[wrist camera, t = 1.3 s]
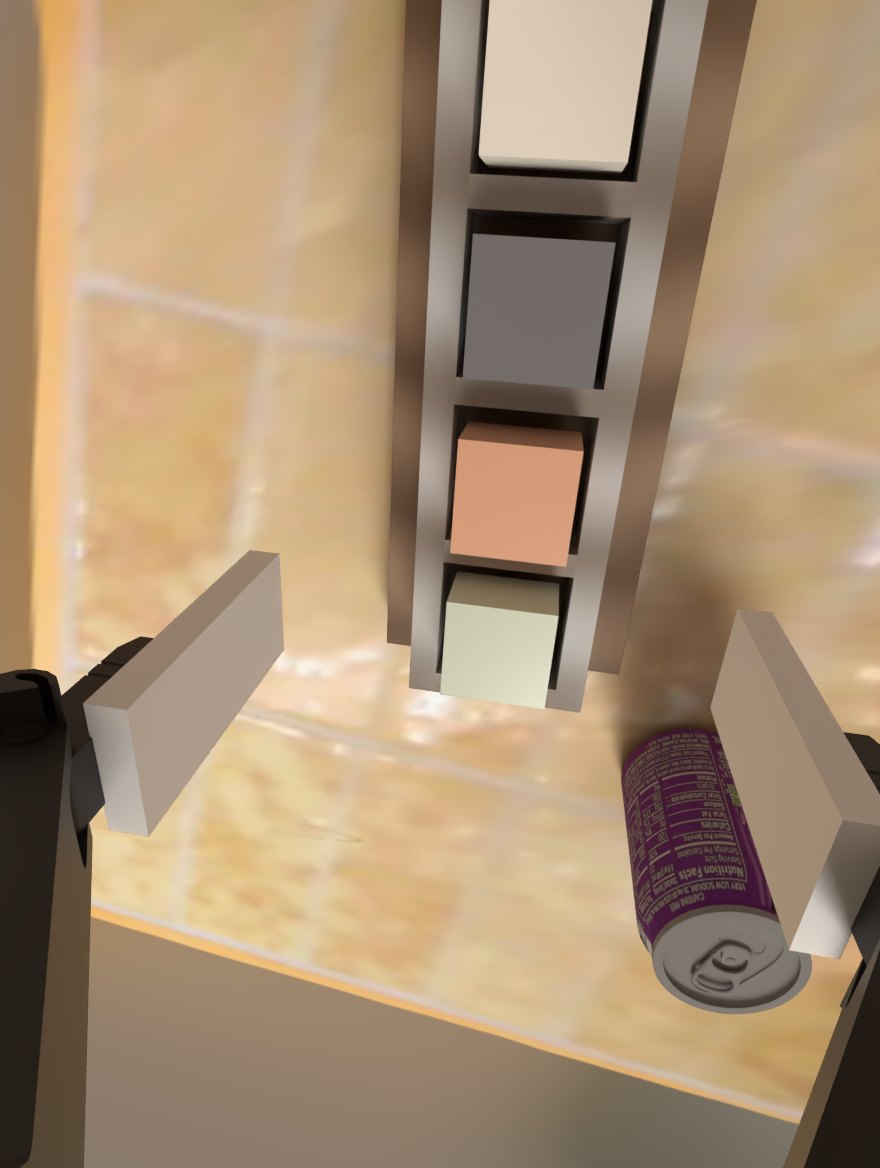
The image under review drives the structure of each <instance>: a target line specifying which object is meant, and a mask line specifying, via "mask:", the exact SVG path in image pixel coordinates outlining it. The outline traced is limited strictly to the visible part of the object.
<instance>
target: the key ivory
mask: <svg viewBox="0 0 880 1168" xmlns="http://www.w3.org/2000/svg"><path fill="white" fill-rule="evenodd" d="M651 7H652V0H490V3H489V17H488V31H487V45H486V59H485V73H484V87H483V101H482V115H481V129H480V143H479V156H480V158H481V159H482V160H483V161H484V163H485V164H486V165H487V166H488V168H508V169H528V170H548V171H568V172H588V173H607V174H621V172H622V171H623V169H624V168H625V166H626V165H627V163H628V158H629V151H630V145H631V138H632V131H633V125H634V118H635V112H636V105H637V99H638V92H639V86H640V79H641V72H642V66H643V59H644V53H645V46H646V40H647V33H648V27H649V20H650V13H651Z"/></svg>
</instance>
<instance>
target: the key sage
mask: <svg viewBox="0 0 880 1168" xmlns="http://www.w3.org/2000/svg"><path fill="white" fill-rule="evenodd" d="M558 617H559V584H557V583H549V582H541V581H532V580H524V579H516V578H508V577H500V576H492V575H483V574H475V573H467V572H459V571H457V574H456V576H455V579H454V582H453V585H452V588H451V591H450V594H449V597H448V600H447V605H446V619H445V633H444V647H443V661H442V675H441V689H440V694H442V695H449V696H456V697H463V698H470V699H477V700H484V701H491V702H497V703H504V704H511V705H518V706H525V707H532V708H539V709H545V702H546V696H547V689H548V682H549V676H550V669H551V663H552V656H553V650H554V643H555V637H556V630H557V623H558Z"/></svg>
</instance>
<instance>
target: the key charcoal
mask: <svg viewBox="0 0 880 1168" xmlns="http://www.w3.org/2000/svg"><path fill="white" fill-rule="evenodd" d="M614 250H615V243H614V242H598V241H582V240H566V239H550V238H534V237H518V236H502V235H486V234H473V241H472V255H471V269H470V283H469V297H468V311H467V325H466V339H465V353H464V367H463V378H467V379H478V380H490V381H501V382H513V383H524V384H535V385H547V386H558V387H569V388H581V389H592V390H593V387H594V381H595V374H596V368H597V361H598V355H599V348H600V341H601V335H602V328H603V322H604V315H605V309H606V302H607V295H608V289H609V282H610V276H611V269H612V263H613V256H614Z"/></svg>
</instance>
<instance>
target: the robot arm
mask: <svg viewBox="0 0 880 1168" xmlns="http://www.w3.org/2000/svg"><path fill="white" fill-rule="evenodd" d="M283 650H284V640H283V620H282V599H281V579H280V558H279V554H277V553H269V552H260V551H252V550H250V551H248V552H247V553H246V554H245V555H244V556H243V557H242V558H241V559H240V560H239V561H238V562H236V563H235V564H234V565H233V566H232V567H231V568H230V569H229V570H228V571H227V572H226V573H224V574H223V575H222V576H221V577H220V578H219V579H218V580H217V581H216V582H215V583H214V584H213V585H211V586H210V587H209V588H208V589H207V590H206V591H205V592H204V593H203V594H202V595H201V596H199V597H198V598H197V599H196V600H195V601H194V602H193V603H192V604H191V605H190V606H189V607H187V608H186V609H185V610H184V611H183V612H182V613H181V614H180V615H179V616H178V617H177V618H175V619H174V620H173V621H172V622H171V623H170V624H169V625H168V626H167V627H166V628H165V629H164V630H162V631H161V632H160V633H159V634H158V635H157V636H156V637H155V638H148V637H138V638H136V639H134V640H132V641H130V642H128V643H126V644H124V645H121V646H119V647H117V648H116V649H115V650H114V651H113V652H112V653H110V654H109V655H108V656H107V657H106V658H105V659H103V660H102V661H101V664H98V665H97V666H95V667H94V668H93V669H92V670H91V671H90V672H88V676H86V675H85V676H84V677H83V678H81V679H80V680H79V681H78V682H77V683H76V684H75V685H73V686H72V687H71V688H70V689H69V690H68V691H66V692H65V693H64V694H63V695H62V696H61V693H60V688H59V684H58V681H57V677H56V676H55V675H53V674H51V673H50V672H48V671H43V670H37V669H27V670H15V671H11V672H7V673H3V674H0V1168H84V1139H85V1102H86V1063H87V1027H88V1026H87V1025H88V988H89V951H90V950H89V949H90V914H91V876H92V839H93V838H92V834H91V829H90V824H89V822H90V821H91V820H92V818H93V817H94V816H95V815H96V814H97V812H98V811H99V810H100V809H101V808H102V807H103V805H104V809H105V814H106V819H107V824H108V829H109V830H113V831H118V832H124V833H130V834H135V835H141V836H146V837H149V835H150V834H151V833H152V831H153V830H154V829H155V827H156V826H157V824H158V823H159V822H160V820H161V819H162V817H163V816H164V815H165V813H166V812H167V811H168V809H169V808H170V806H171V805H172V804H173V802H174V801H175V799H176V798H177V797H178V795H179V794H180V793H181V791H182V790H183V788H184V787H185V786H186V784H187V783H188V781H189V780H190V779H191V777H192V776H193V775H194V773H195V772H196V770H197V769H198V768H199V766H200V765H201V763H202V762H203V761H204V759H205V758H206V757H207V755H208V754H209V752H210V751H211V750H212V748H213V747H214V746H215V744H216V743H217V741H218V740H219V739H220V737H221V736H222V734H223V733H224V732H225V730H226V729H227V728H228V726H229V725H230V723H231V722H232V721H233V719H234V718H235V716H236V715H237V714H238V712H239V711H240V710H241V708H242V707H243V705H244V704H245V703H246V701H247V700H248V698H249V697H250V696H251V694H252V693H253V692H254V690H255V689H256V687H257V686H258V685H259V683H260V682H261V680H262V679H263V678H264V676H265V675H266V674H267V672H268V671H269V669H270V668H271V667H272V665H273V664H274V662H275V661H276V660H277V658H278V657H279V656H280V654H281V653H282V651H283ZM710 709H711V712H712V715H713V718H714V721H715V724H716V727H717V731H718V734H719V737H720V740H721V743H722V746H723V749H724V752H725V755H726V758H727V761H728V764H729V767H730V770H731V773H732V777H733V780H734V783H735V786H736V789H737V792H738V795H739V798H740V801H741V804H742V807H743V810H744V813H745V816H746V819H747V823H748V826H749V829H750V832H751V835H752V838H753V841H754V844H755V847H756V850H757V853H758V856H759V859H760V862H761V866H762V869H763V872H764V875H765V878H766V881H767V884H768V887H769V890H770V893H771V896H772V899H773V902H774V905H775V908H776V912H777V915H778V918H779V921H780V924H781V927H782V930H783V933H784V936H785V939H786V942H787V945H788V948H789V950H791V951H797V952H803V953H808V954H814V955H820V956H825V957H831V958H836V959H840V958H841V956H842V953H843V951H844V949H845V947H846V945H847V943H848V940H849V938H850V936H851V934H853V936H854V938H855V941H856V943H857V945H858V948H859V950H860V952H861V955H862V957H863V959H862V961H861V963H860V965H859V967H858V969H857V971H856V973H855V976H854V978H853V980H852V982H851V984H850V986H849V988H848V990H847V992H846V994H845V996H844V998H843V1000H842V1002H841V1004H840V1007H842V1011H841V1014H840V1016H839V1019H838V1022H837V1024H836V1027H835V1030H834V1032H833V1035H832V1038H831V1040H830V1043H829V1046H828V1049H827V1051H826V1054H825V1057H824V1059H823V1062H822V1065H821V1067H820V1070H819V1073H818V1075H817V1078H816V1081H815V1083H814V1086H813V1089H812V1092H811V1094H810V1097H809V1100H808V1102H807V1105H806V1108H805V1110H804V1113H803V1116H802V1118H801V1121H800V1124H799V1127H798V1129H797V1132H796V1135H795V1137H794V1140H793V1143H792V1145H791V1148H790V1151H789V1153H788V1156H787V1159H786V1162H785V1164H784V1167H783V1168H880V744H879V743H877V742H876V741H875V740H874V739H872V738H871V737H870V736H867V735H860V734H853V733H845V732H843V731H842V729H841V728H840V726H839V724H838V723H837V721H836V719H835V718H834V716H833V714H832V713H831V711H830V709H829V708H828V706H827V704H826V702H825V701H824V699H823V697H822V696H821V694H820V692H819V691H818V689H817V687H816V686H815V684H814V682H813V680H812V679H811V677H810V675H809V674H808V672H807V670H806V669H805V667H804V665H803V664H802V662H801V660H800V658H799V657H798V655H797V653H796V652H795V650H794V648H793V647H792V645H791V643H790V642H789V640H788V638H787V636H786V635H785V633H784V631H783V630H782V628H781V626H780V625H779V623H778V621H777V620H776V618H775V616H774V614H773V613H769V612H761V611H752V610H744V609H737V612H736V616H735V620H734V623H733V627H732V631H731V634H730V638H729V642H728V645H727V649H726V652H725V656H724V660H723V663H722V667H721V671H720V674H719V678H718V681H717V685H716V689H715V692H714V696H713V700H712V703H711V707H710Z"/></svg>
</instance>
